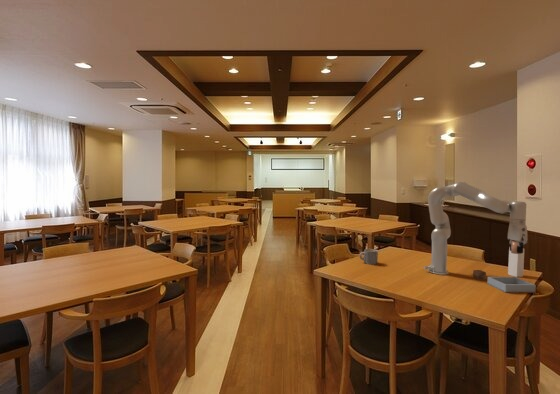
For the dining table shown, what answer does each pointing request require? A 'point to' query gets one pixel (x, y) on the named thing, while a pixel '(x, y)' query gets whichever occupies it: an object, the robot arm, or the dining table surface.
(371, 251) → the coffee mug
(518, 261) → the milk
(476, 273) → the walnut cube
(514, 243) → the terracotta cylinder
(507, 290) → the tray
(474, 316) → the dining table surface
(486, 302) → the dining table surface
